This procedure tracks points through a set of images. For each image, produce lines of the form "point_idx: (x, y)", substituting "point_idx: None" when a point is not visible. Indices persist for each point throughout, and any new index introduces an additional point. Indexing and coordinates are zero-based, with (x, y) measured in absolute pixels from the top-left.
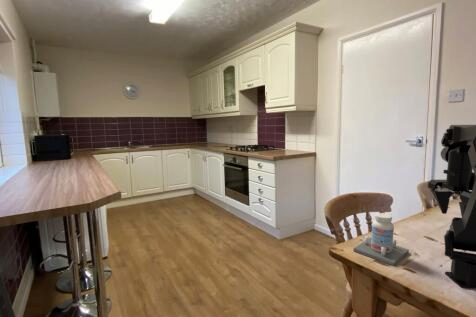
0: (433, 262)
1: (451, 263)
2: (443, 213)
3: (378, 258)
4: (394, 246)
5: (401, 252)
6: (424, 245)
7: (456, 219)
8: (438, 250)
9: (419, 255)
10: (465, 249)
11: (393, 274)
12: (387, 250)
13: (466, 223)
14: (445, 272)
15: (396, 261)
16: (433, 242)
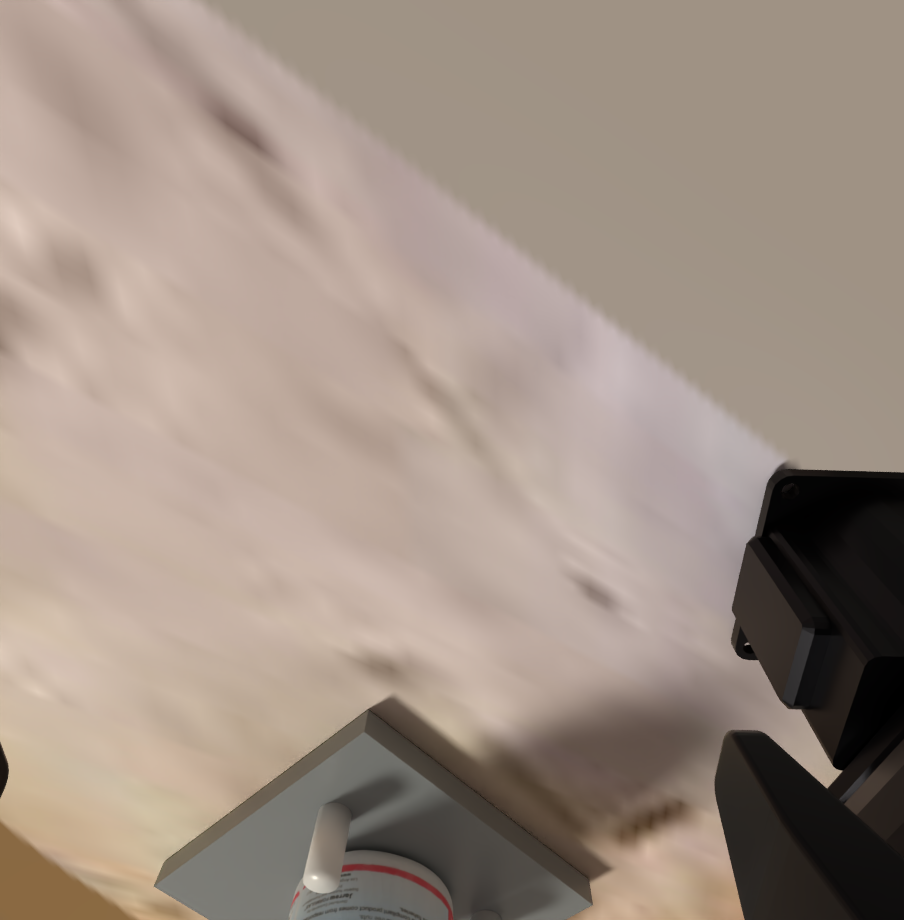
0: (541, 619)
1: (760, 660)
2: (6, 769)
3: None
4: (348, 832)
5: (424, 801)
6: (178, 506)
7: None
8: (283, 437)
9: (414, 656)
10: None
11: (695, 915)
12: (452, 917)
13: None
14: (748, 659)
15: (553, 864)
16: (65, 366)
